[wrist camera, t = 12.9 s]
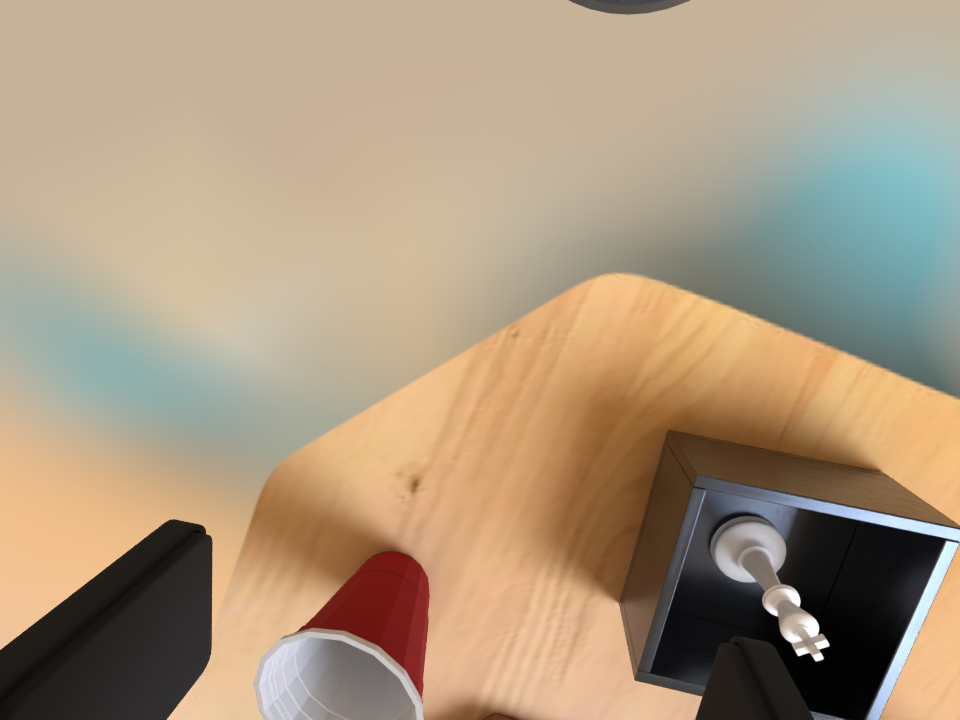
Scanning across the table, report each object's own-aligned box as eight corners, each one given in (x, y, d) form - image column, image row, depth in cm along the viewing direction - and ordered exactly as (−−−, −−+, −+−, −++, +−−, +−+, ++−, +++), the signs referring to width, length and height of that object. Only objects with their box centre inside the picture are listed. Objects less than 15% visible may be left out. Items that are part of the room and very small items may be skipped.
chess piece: (794, 562, 37) (883, 678, 27) (727, 586, 38) (790, 707, 28) (766, 505, 36) (848, 603, 26) (698, 531, 37) (753, 635, 27)
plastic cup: (310, 534, 42) (220, 648, 30) (437, 511, 40) (394, 624, 28) (350, 647, 44) (281, 795, 32) (473, 631, 42) (446, 781, 30)
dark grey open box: (667, 429, 36) (696, 474, 29) (884, 472, 35) (966, 529, 28) (618, 604, 40) (634, 680, 33) (813, 648, 39) (871, 737, 32)
